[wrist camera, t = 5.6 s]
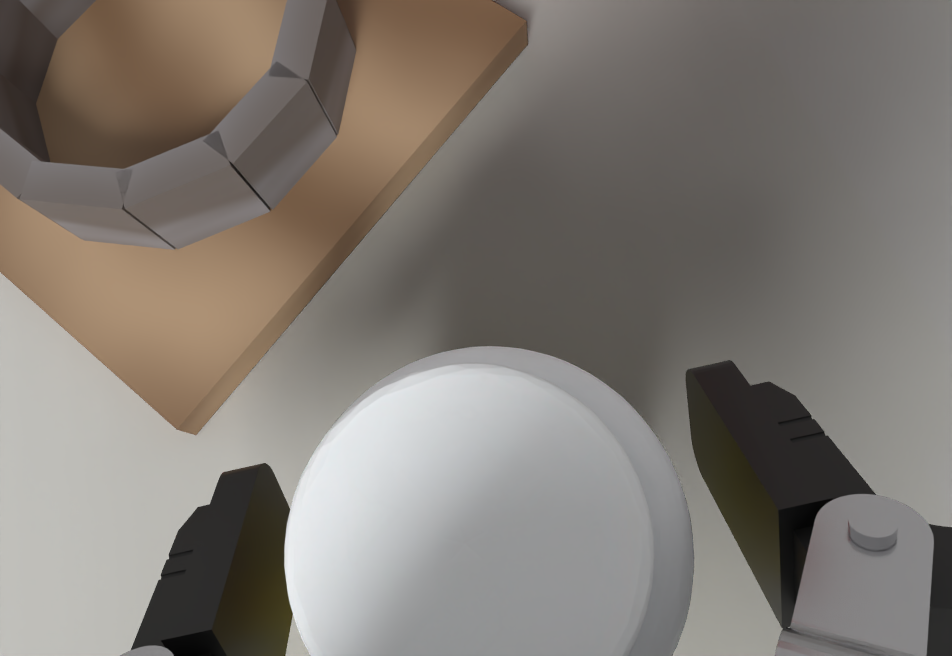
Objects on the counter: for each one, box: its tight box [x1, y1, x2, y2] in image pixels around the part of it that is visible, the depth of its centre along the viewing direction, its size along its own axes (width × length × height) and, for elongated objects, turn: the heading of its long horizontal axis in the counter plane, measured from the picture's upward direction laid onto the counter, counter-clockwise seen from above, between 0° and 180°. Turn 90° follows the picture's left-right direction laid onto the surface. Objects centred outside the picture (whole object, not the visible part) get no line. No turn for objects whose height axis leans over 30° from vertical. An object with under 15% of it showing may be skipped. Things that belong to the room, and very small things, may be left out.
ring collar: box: [0, 0, 528, 435], centre depth 20 cm, size 14×14×4 cm
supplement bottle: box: [284, 346, 694, 656], centre depth 13 cm, size 6×6×10 cm
